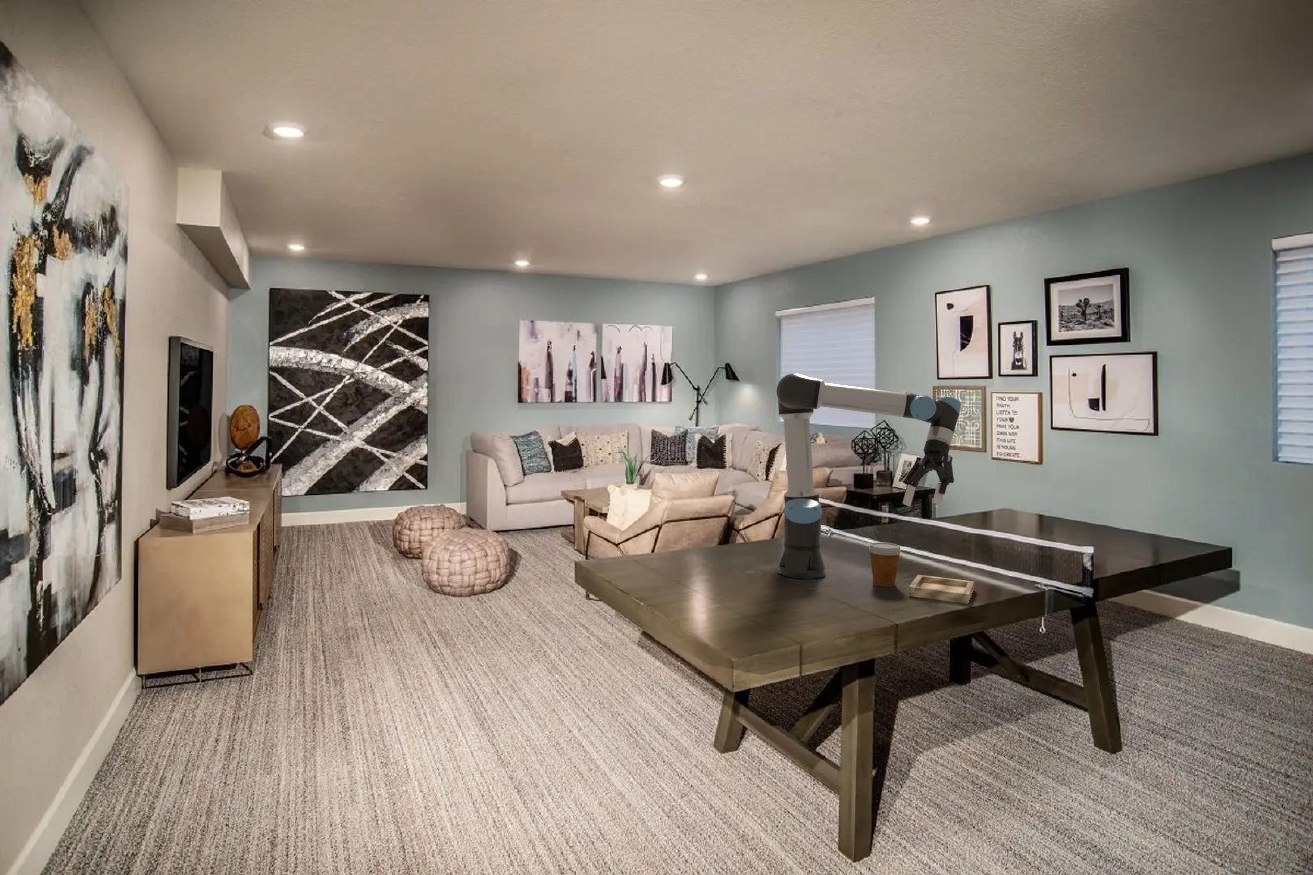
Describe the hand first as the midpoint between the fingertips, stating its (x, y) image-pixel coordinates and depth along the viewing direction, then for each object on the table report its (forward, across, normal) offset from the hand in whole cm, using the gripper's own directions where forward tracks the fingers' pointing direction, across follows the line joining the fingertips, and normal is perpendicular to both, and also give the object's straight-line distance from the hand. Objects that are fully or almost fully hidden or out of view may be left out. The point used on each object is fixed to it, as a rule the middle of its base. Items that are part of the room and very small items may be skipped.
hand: (921, 504), depth 233 cm
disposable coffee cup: (+28, +2, +4) cm, 28 cm away
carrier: (+26, -12, -6) cm, 29 cm away
